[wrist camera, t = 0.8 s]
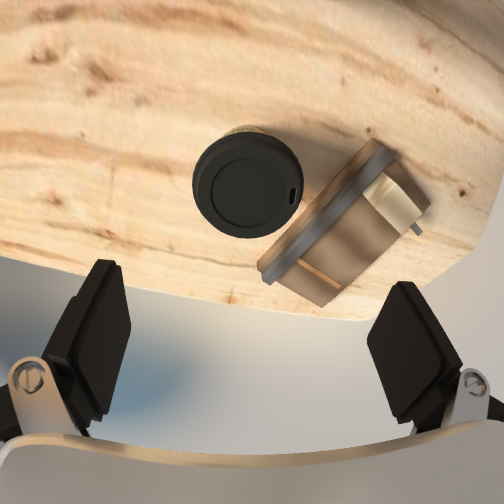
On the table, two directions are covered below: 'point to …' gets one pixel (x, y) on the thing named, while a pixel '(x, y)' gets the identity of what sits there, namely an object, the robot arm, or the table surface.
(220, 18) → the table surface
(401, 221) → the block
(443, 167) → the table surface
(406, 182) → the walnut board
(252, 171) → the coffee cup
